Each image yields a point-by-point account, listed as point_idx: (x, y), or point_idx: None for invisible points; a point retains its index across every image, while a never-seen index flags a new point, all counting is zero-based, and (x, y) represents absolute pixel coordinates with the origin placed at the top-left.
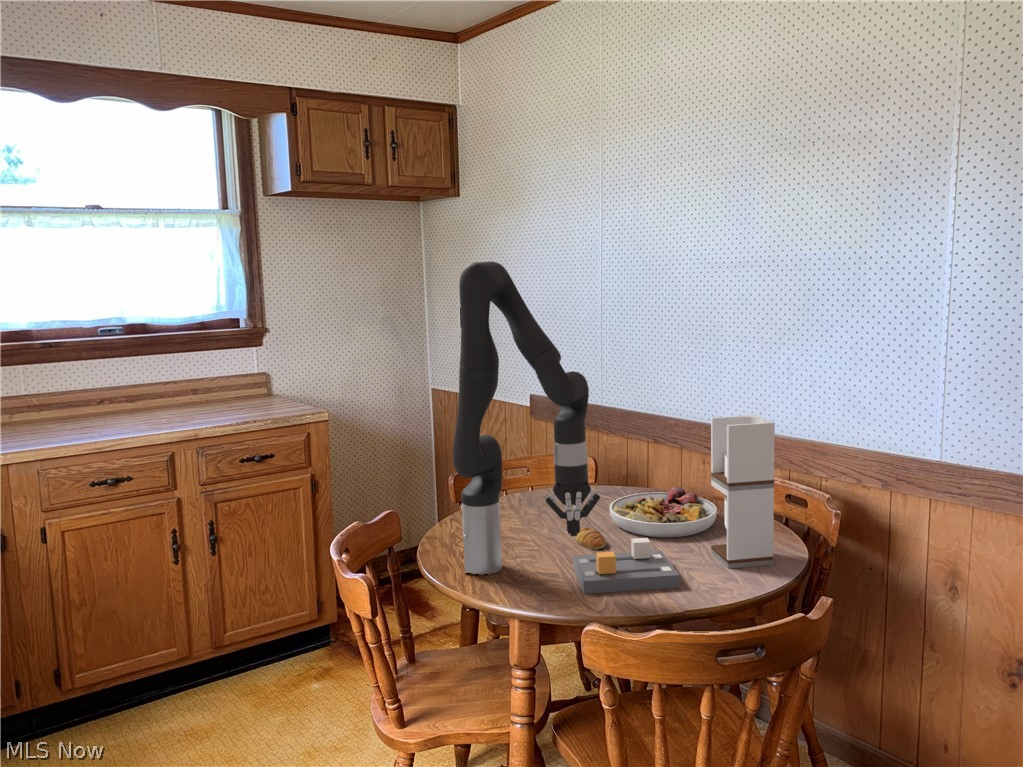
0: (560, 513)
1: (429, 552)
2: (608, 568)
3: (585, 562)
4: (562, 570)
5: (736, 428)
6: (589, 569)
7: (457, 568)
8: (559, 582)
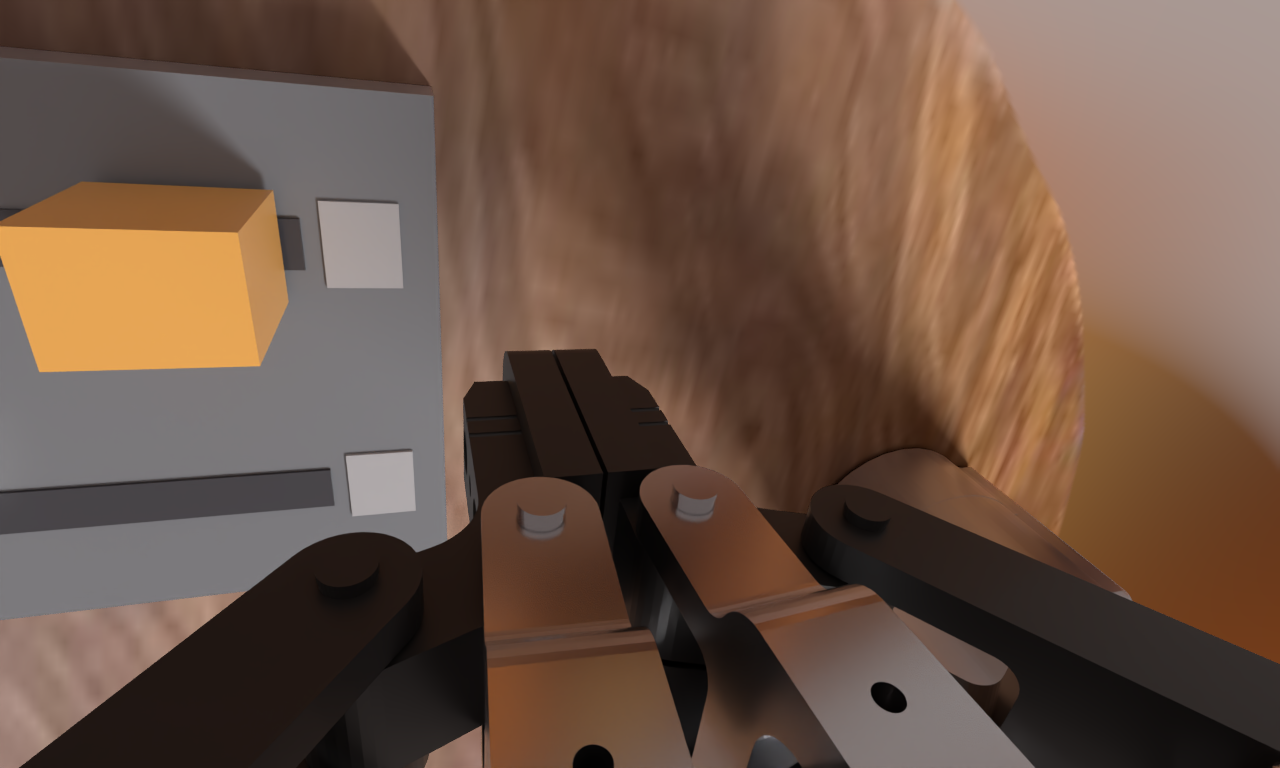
0: (923, 553)
1: None
2: (152, 197)
3: (370, 458)
4: None
5: None
6: (351, 335)
7: None
8: (567, 318)
